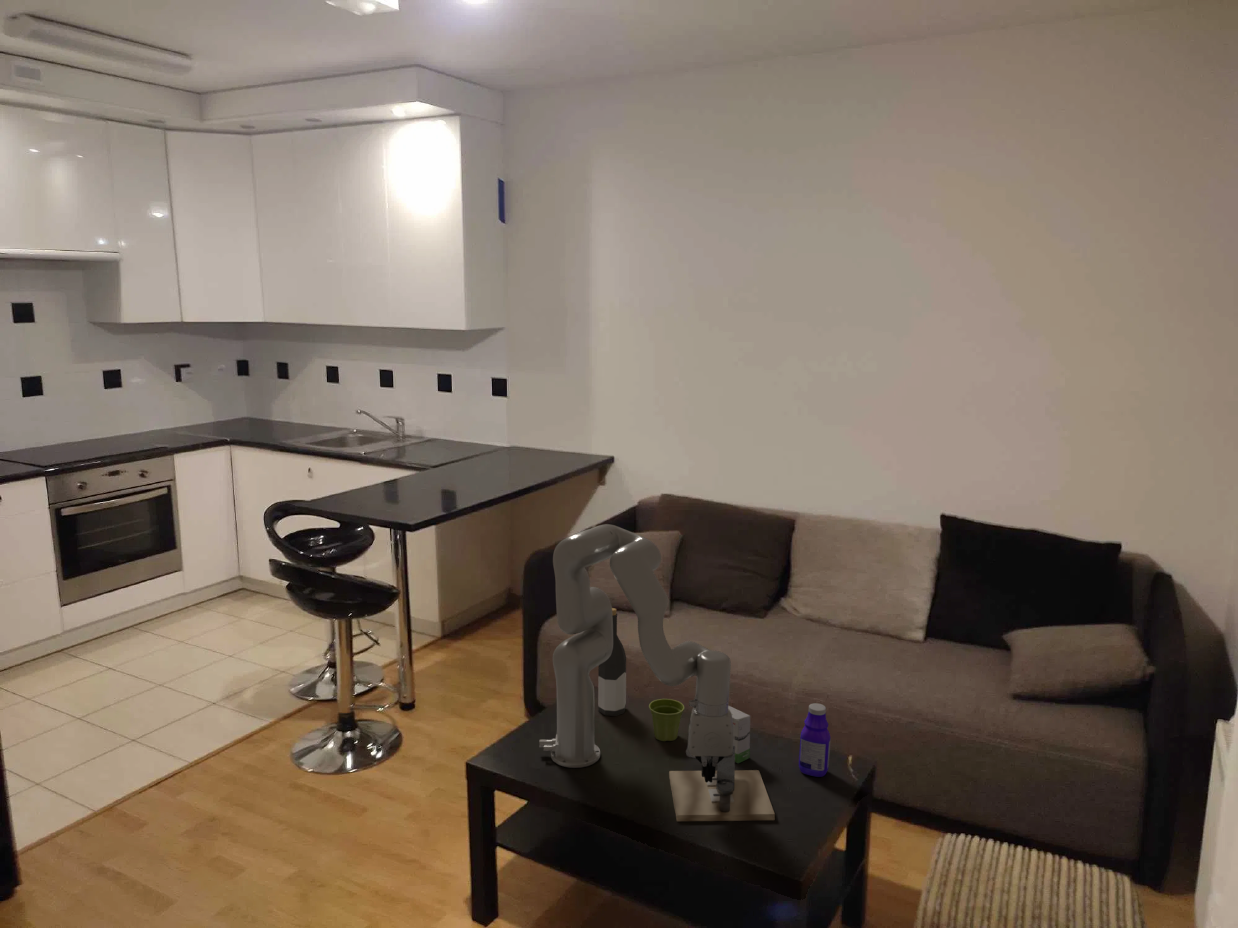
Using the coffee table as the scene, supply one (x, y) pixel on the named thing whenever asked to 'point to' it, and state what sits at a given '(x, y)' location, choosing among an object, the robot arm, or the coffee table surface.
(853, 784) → the coffee table surface
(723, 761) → the swing bar
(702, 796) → the label board
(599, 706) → the wine bottle
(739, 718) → the ink box
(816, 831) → the coffee table surface
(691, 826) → the coffee table surface
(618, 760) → the coffee table surface
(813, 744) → the bottle
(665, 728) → the plant pot
